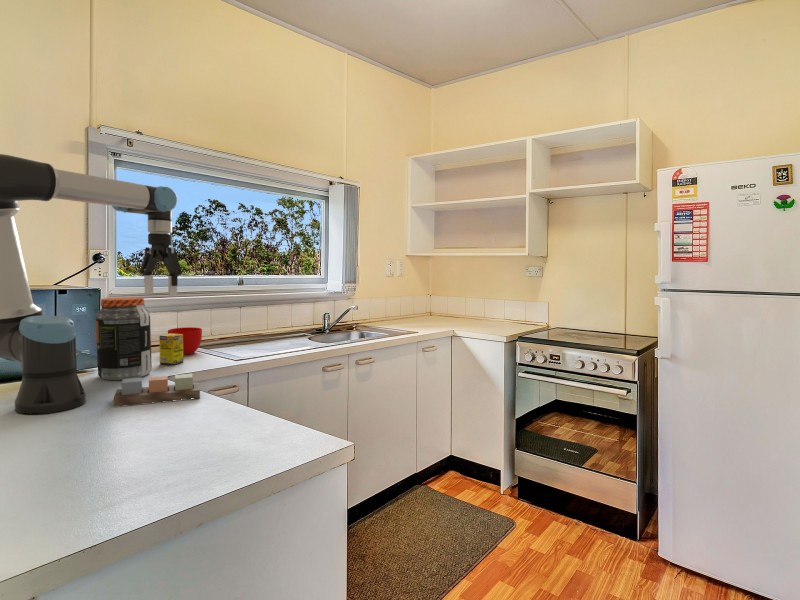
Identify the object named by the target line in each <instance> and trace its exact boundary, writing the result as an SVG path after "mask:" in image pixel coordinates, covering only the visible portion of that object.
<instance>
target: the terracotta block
mask: <svg viewBox="0 0 800 600" xmlns="http://www.w3.org/2000/svg"><path fill="white" fill-rule="evenodd" d="M168 377H169V376H168V375H158V376H149V378H148V387H149V393H153V392H164V391H168V385H169V384H168V383H169V378H168Z"/></svg>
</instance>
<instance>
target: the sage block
mask: <svg viewBox="0 0 800 600" xmlns="http://www.w3.org/2000/svg"><path fill="white" fill-rule="evenodd" d="M193 383H194V377H193V373H184V374H175V375H174V385H175V390H187V389H193Z"/></svg>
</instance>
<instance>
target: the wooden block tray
mask: <svg viewBox="0 0 800 600" xmlns="http://www.w3.org/2000/svg"><path fill="white" fill-rule="evenodd" d="M191 398H200V399H201V389H200V383H199V382H193V389H187V390H175V384H168V391H164V392H153V393H149V386H142V393H141V394H130V395H122V389H121V388H119V389H116V392H115V394H114V395H113V407H114V406H120V407H124V406H123V405H130V406H134V405H133V404H140V405H143V404H142V403H151V404H153V403H152V402H161V403H164V402H163V401H171V402H174V401H173V400H181V399H191Z"/></svg>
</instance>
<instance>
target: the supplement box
mask: <svg viewBox="0 0 800 600" xmlns="http://www.w3.org/2000/svg"><path fill="white" fill-rule="evenodd" d="M158 337H159V364H160V365H161V366H163V365H164V366H175V365H179V364H182V363H184V355H183V334H168V333H166V334H162V335H159V336H158Z"/></svg>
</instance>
